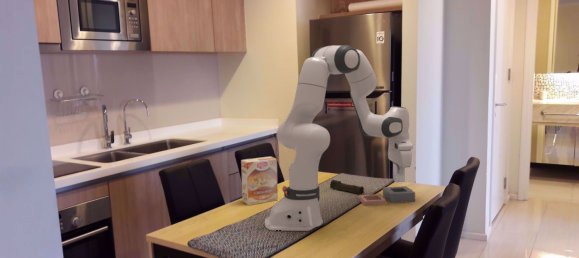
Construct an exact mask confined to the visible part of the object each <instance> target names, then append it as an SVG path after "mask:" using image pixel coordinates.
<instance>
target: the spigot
mask: <svg viewBox="0 0 579 258" xmlns="http://www.w3.org/2000/svg"><path fill="white" fill-rule="evenodd" d="M398 170H399V165H398V164H396V163H393V162H392V181H394V182H395V183H405V182H406V168H404V171H403V175H399V174H398V173H399V172H398Z"/></svg>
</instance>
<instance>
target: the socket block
mask: <svg viewBox="0 0 579 258" xmlns="http://www.w3.org/2000/svg"><path fill="white" fill-rule="evenodd" d="M382 197H383V198H384V199H385V200H386V201H388V202H389V203H391V204H394V203H408V202H409V203H410V202H415V201H416V192H415V191H414V190H412V189H410V188H409V187H408V186H407V185H405V186H401V185H400V186H387V187H382Z"/></svg>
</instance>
